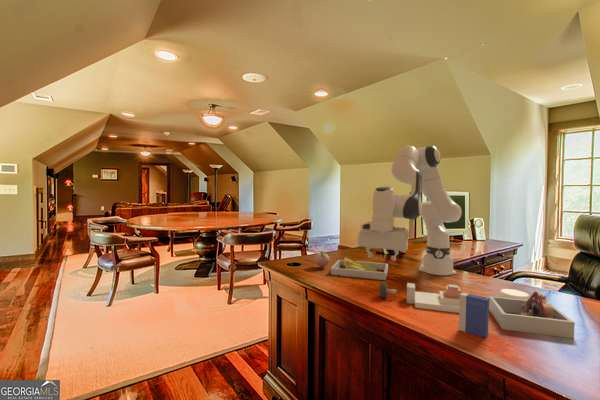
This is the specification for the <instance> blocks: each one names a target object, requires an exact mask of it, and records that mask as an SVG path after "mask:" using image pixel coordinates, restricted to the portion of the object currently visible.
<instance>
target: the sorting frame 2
mask: <svg viewBox="0 0 600 400" xmlns="http://www.w3.org/2000/svg"><path fill="white" fill-rule="evenodd" d="M488 298H489V313H490V314H491V315H492V317H493V318H494V319H495V321H496V322H497V324H498V325H499V327H500V328H501V329H502V330H505V331H506V330H507V331H512V332H513V331H514V332H521V333H530V334H537V335H545V336H550V337H551V336H552V337H559V338H560V337H561V338H567V339H575V326H576V325H575V323H576V322H575V321H573V320H572V319H571V318H569V316H567V315H566V314H565V313H563V312H562V311H561V310H560V309H558V308H557V307H556V306H554V305H553V304H552V303H550V302H549V301H546V302H547V303H548V304H550V305H551V306H552V307H553V309H554V317H553V318H554V319H550V318H541V317H533V316H524V315H518V314H519V311H520V308H521V306H522V305H525V309H527V304H526V302H527V301H528V300H521V299H511V298H502V297H500V296H493V295H492V296H491V295H490V296H489V295H488ZM538 302H539V300H538ZM531 304H532V308H533V306H534V304H533V303H531Z"/></svg>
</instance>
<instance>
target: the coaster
mask: <svg viewBox="0 0 600 400" xmlns="http://www.w3.org/2000/svg"><path fill="white" fill-rule="evenodd" d="M499 297H502V298H511V299H521V300H528V299H529V298H530V294H529V293H528V292H525V291H522V290H520V289H519V290H518V289H514V288H502V289H500V290H499Z"/></svg>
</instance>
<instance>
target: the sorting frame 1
mask: <svg viewBox="0 0 600 400" xmlns="http://www.w3.org/2000/svg"><path fill="white" fill-rule="evenodd" d="M357 262H360V263H362V264H365V265H368V266H371V267H374V268H376V269H377V271H376V272H373V271H362V270H351V269H345V268H340V267H344V259H338V260H337V261H336V262H335V263H334V264H333V265H332V266H331V268H330V275H331V274H332V276H338V275H340V276H339V277H348V278H361V279H372V280H381V281H386V279H387V275H388V272H389V263H386V262H385V263H383V262H371V261H360V260H358V261H357ZM378 270H380V271H381V272H380V271H378ZM382 271H383V272H382Z"/></svg>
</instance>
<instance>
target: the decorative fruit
mask: <svg viewBox="0 0 600 400" xmlns="http://www.w3.org/2000/svg"><path fill="white" fill-rule="evenodd" d="M313 260H314V263H315V265H317V266H319V268H321V269H324V268H325V267H327V266H328V265H329V263H330V256H329V255H328V254H327V253H326V252H324V251H323V250H321V251H319V252H318V253H316V254H315V255H314V259H313Z"/></svg>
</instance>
